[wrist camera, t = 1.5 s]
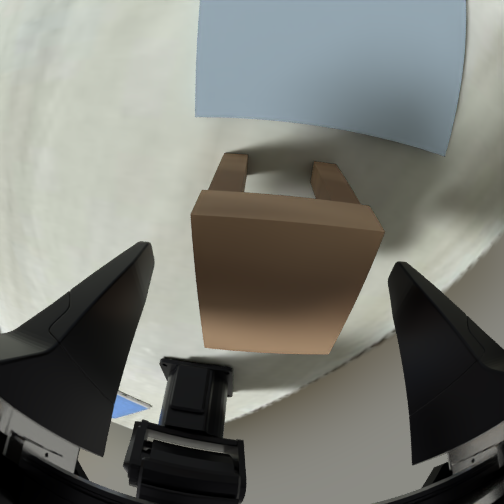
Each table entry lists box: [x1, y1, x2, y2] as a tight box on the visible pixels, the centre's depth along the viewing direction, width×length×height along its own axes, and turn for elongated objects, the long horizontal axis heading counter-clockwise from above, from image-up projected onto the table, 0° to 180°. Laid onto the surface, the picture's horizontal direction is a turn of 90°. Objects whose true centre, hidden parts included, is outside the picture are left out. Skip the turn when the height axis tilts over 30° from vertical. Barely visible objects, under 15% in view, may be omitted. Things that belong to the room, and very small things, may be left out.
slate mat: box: [195, 0, 466, 156], centre depth 6 cm, size 11×11×1 cm
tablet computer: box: [112, 391, 151, 418], centre depth 34 cm, size 19×13×1 cm, turn 138°
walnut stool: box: [191, 153, 385, 354], centre depth 11 cm, size 6×5×6 cm
